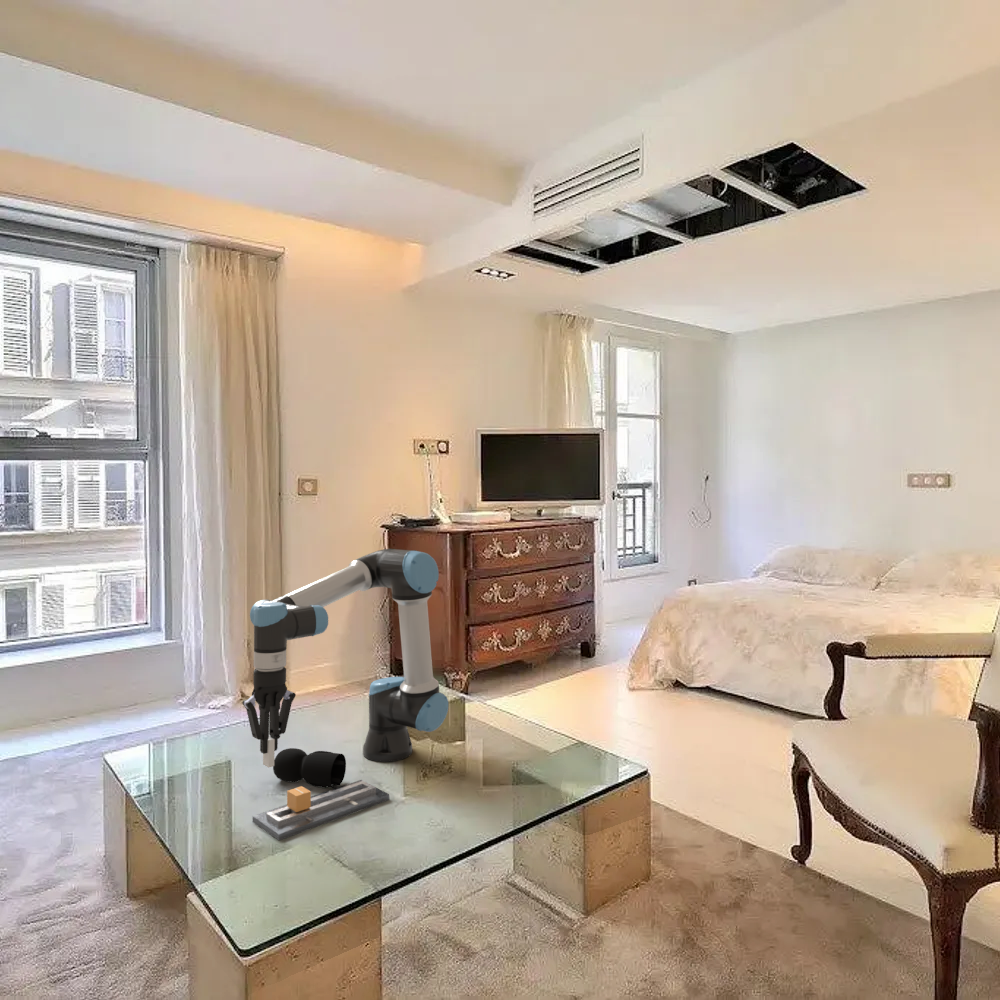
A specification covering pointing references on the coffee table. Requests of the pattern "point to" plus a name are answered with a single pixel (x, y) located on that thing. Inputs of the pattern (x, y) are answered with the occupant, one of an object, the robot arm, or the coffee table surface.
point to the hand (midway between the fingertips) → (268, 765)
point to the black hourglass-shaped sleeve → (310, 767)
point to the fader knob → (298, 799)
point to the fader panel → (320, 809)
